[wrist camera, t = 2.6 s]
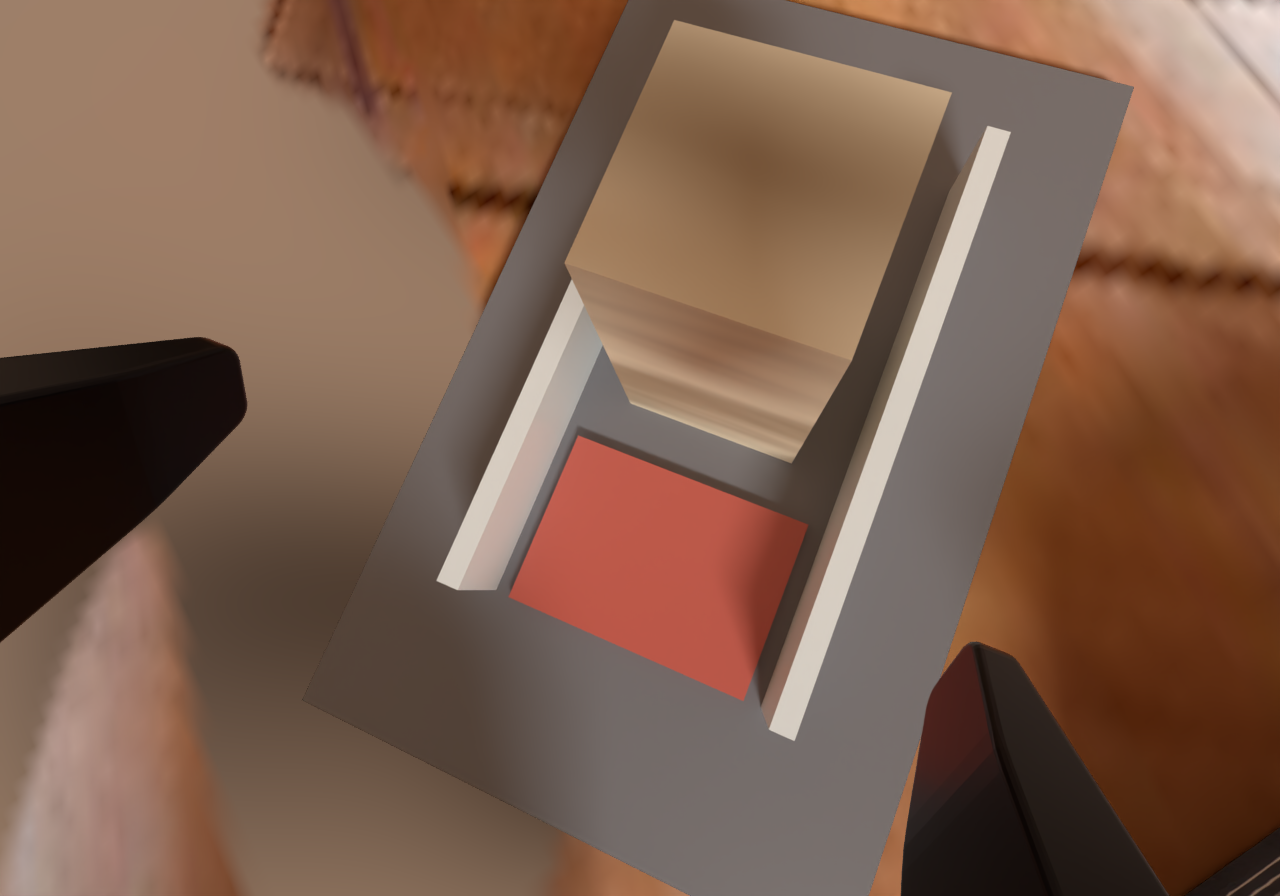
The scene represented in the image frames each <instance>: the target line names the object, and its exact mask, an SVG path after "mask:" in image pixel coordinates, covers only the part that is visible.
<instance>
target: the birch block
mask: <svg viewBox="0 0 1280 896" xmlns="http://www.w3.org/2000/svg"><path fill="white" fill-rule="evenodd" d="M951 94H952V92H948V91H944V90H940V89H936V88H933V87H929V86H925V85H921V84H917V83H914V82H910V81H906V80H902V79H898V78H894V77H891V76H887V75H883V74H879V73H875V72H871V71H868V70H864V69H860V68H856V67H852V66H849V65H845V64H841V63H837V62H833V61H829V60H826V59H822V58H818V57H814V56H810V55H806V54H803V53H799V52H795V51H791V50H787V49H784V48H780V47H776V46H772V45H768V44H764V43H761V42H757V41H753V40H749V39H745V38H741V37H738V36H734V35H730V34H726V33H722V32H719V31H715V30H711V29H707V28H703V27H699V26H696V25H692V24H688V23H684V22H680V21H676V20H674V22H673V24H672V26H671V28H670V30H669V33H668V35H667V37H666V39H665V42H664V44H663V46H662V48H661V50H660V53H659V55H658V57H657V59H656V61H655V64H654V66H653V68H652V70H651V72H650V75H649V77H648V79H647V81H646V84H645V86H644V88H643V90H642V92H641V95H640V97H639V99H638V101H637V103H636V106H635V108H634V110H633V112H632V114H631V117H630V119H629V121H628V123H627V125H626V128H625V130H624V132H623V134H622V137H621V139H620V141H619V143H618V145H617V148H616V150H615V152H614V154H613V156H612V159H611V161H610V163H609V165H608V167H607V170H606V172H605V174H604V176H603V179H602V181H601V183H600V185H599V187H598V190H597V192H596V194H595V196H594V198H593V201H592V203H591V205H590V207H589V209H588V212H587V214H586V216H585V218H584V221H583V223H582V225H581V227H580V229H579V232H578V234H577V236H576V238H575V240H574V243H573V245H572V247H571V249H570V251H569V254H568V256H567V258H566V260H565V265H566V268H567V270H568V272H569V274H570V276H571V278H572V280H573V282H574V285H575V287H576V289H577V291H578V293H579V295H580V297H581V299H582V302H583V304H584V306H585V308H586V310H587V312H588V314H589V316H590V319H591V321H592V323H593V325H594V327H595V329H596V331H597V333H598V336H599V338H600V340H601V342H602V344H603V346H604V348H605V350H606V353H607V355H608V357H609V359H610V361H611V363H612V365H613V367H614V370H615V372H616V374H617V376H618V378H619V380H620V382H621V384H622V387H623V389H624V391H625V393H626V395H627V397H628V399H629V402H630V403H631V404H633V405H636V406H639V407H641V408H644V409H647V410H649V411H652V412H655V413H657V414H660V415H663V416H666V417H668V418H671V419H674V420H676V421H679V422H682V423H684V424H687V425H690V426H692V427H695V428H698V429H700V430H703V431H706V432H708V433H711V434H714V435H716V436H719V437H722V438H724V439H727V440H730V441H732V442H735V443H738V444H741V445H743V446H746V447H749V448H751V449H754V450H757V451H759V452H762V453H765V454H767V455H770V456H773V457H775V458H778V459H781V460H783V461H786V462H789V463H791V464H792V462H793V460H794V458H795V457H796V455H797V453H798V452H799V450H800V448H801V446H802V445H803V443H804V441H805V440H806V438H807V436H808V435H809V433H810V431H811V429H812V428H813V426H814V424H815V423H816V421H817V419H818V417H819V416H820V414H821V412H822V411H823V409H824V407H825V405H826V404H827V402H828V400H829V399H830V397H831V395H832V394H833V392H834V390H835V388H836V387H837V385H838V383H839V382H840V380H841V378H842V376H843V375H844V373H845V371H846V370H847V368H848V366H849V365H850V363H851V361H852V359H853V356H854V353H855V351H856V348H857V345H858V343H859V340H860V337H861V335H862V332H863V329H864V327H865V324H866V321H867V319H868V316H869V313H870V311H871V308H872V305H873V303H874V300H875V297H876V295H877V292H878V289H879V286H880V284H881V281H882V278H883V276H884V273H885V270H886V268H887V265H888V262H889V260H890V257H891V254H892V252H893V249H894V246H895V244H896V241H897V238H898V236H899V233H900V230H901V228H902V225H903V222H904V220H905V217H906V214H907V212H908V209H909V206H910V204H911V201H912V198H913V196H914V193H915V190H916V188H917V185H918V182H919V179H920V177H921V174H922V171H923V169H924V166H925V163H926V161H927V158H928V155H929V153H930V150H931V147H932V145H933V142H934V139H935V137H936V134H937V131H938V129H939V126H940V123H941V121H942V118H943V115H944V113H945V110H946V107H947V105H948V102H949V99H950V97H951Z"/></svg>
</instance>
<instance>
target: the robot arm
mask: <svg viewBox="0 0 1280 896" xmlns="http://www.w3.org/2000/svg"><path fill="white" fill-rule="evenodd" d="M246 410H247V398H246V393H245V387H244V382H243V376H242V371H241V365H240V360H239V357H238V355H237V354H236V352H235V351H234V350H233V349H232V348H230V347H228V346H226V345H223V344H221V343H218V342H215V341H213V340H211V339H207V338H203V337H194V338H184V339H174V340H165V341H156V342H147V343H137V344H127V345H118V346H110V347H109V346H108V347H99V348H90V349H80V350H70V351H61V352H52V353H42V354H33V355H23V356H14V357H4V358H0V642H1V641H3V640H4V639H5V638H6V637H7V636H9V635H10V634H11V633H12V632H13V631H15V630H16V629H17V628H18V627H19V626H20V625H22V624H23V623H24V622H25V621H26V620H27V619H29V618H30V617H31V616H32V615H33V614H34V613H36V612H37V611H38V610H39V609H40V608H41V607H43V606H44V605H45V604H46V603H47V602H48V601H50V600H51V599H52V598H53V597H54V596H55V595H57V594H58V593H59V592H60V591H61V590H62V589H63V588H65V587H66V586H67V585H68V584H69V583H71V582H72V581H73V580H74V579H75V578H76V577H78V576H79V575H80V574H81V573H82V572H83V571H85V570H86V569H87V568H88V567H89V566H90V565H92V564H93V563H94V562H95V561H96V560H97V559H99V558H100V557H101V556H102V555H103V554H104V553H106V552H107V551H108V550H109V549H110V548H111V547H113V546H114V545H115V544H116V543H117V542H119V541H120V540H121V539H122V538H123V537H124V536H126V535H127V534H128V533H129V532H130V531H131V530H133V529H134V528H135V527H136V526H137V525H138V524H139V523H141V522H142V521H143V520H144V519H145V518H146V517H147V516H148V515H150V514H151V513H152V512H153V511H154V510H155V509H156V508H157V507H158V506H159V505H160V504H161V503H162V502H164V501H165V499H167V497H169V496H170V495H171V494H172V493H173V492H174V490H176V488H177V487H178V486H179V485H180V484H181V483H182V482H183V481H184V480H185V479H186V478H187V477H188V476H189V475H190V474H191V473H192V472H193V471H194V470H195V469H196V468H197V467H198V466H199V465H200V464H201V463H202V462H203V460H205V459H206V458H207V457H208V455H209V454H210V453H211V452H212V451H213V450H214V449H215V448H216V447H217V446H218V445H219V444H220V443H221V442H222V441H223V440H224V439H225V438H226V437H227V436H228V435H229V434H230V433H231V432H232V431H233V430H234V429H235V428H236V427H237V426H238V424H239V423H240V422H241V421H242V419H243V418H244V416H245V413H246ZM901 896H1169V894H1168V893H1167V891H1166V890H1165V888H1164V887H1163V885H1162V883H1161V882H1160V880H1159V879H1158V877H1157V876H1156V874H1155V873H1154V871H1153V869H1152V868H1151V866H1150V865H1149V863H1148V862H1147V860H1146V859H1145V857H1144V856H1143V854H1142V852H1141V851H1140V849H1139V848H1138V846H1137V845H1136V843H1135V842H1134V840H1133V839H1132V837H1131V835H1130V834H1129V832H1128V831H1127V829H1126V828H1125V826H1124V825H1123V823H1122V821H1121V820H1120V818H1119V817H1118V815H1117V814H1116V812H1115V811H1114V809H1113V808H1112V806H1111V804H1110V803H1109V801H1108V800H1107V798H1106V797H1105V795H1104V794H1103V792H1102V791H1101V789H1100V787H1099V786H1098V784H1097V783H1096V781H1095V780H1094V778H1093V777H1092V775H1091V774H1090V772H1089V770H1088V769H1087V767H1086V766H1085V764H1084V763H1083V761H1082V760H1081V758H1080V756H1079V755H1078V753H1077V752H1076V750H1075V749H1074V747H1073V746H1072V744H1071V743H1070V741H1069V739H1068V738H1067V736H1066V735H1065V733H1064V732H1063V730H1062V729H1061V727H1060V726H1059V724H1058V722H1057V721H1056V719H1055V718H1054V716H1053V715H1052V713H1051V712H1050V710H1049V708H1048V707H1047V705H1046V704H1045V702H1044V701H1043V699H1042V698H1041V696H1040V695H1039V693H1038V691H1037V690H1036V688H1035V687H1034V685H1033V684H1032V682H1031V681H1030V679H1029V678H1028V676H1027V674H1026V673H1025V671H1024V670H1023V668H1022V667H1021V665H1020V664H1019V662H1018V661H1017V660H1016V659H1015V658H1014V657H1013V656H1011V655H1010V654H1008V653H1005V652H1003V651H1000V650H998V649H995V648H993V647H990V646H988V645H985V644H983V643H980V642H970V643H968V644H967V645H966V646H964V647H963V648H962V650H961V651H960V652H959V654H958V655H957V656H956V658H955V659H954V660H953V662H952V663H951V664H950V666H949V667H948V668H947V670H946V671H945V672H944V674H943V675H942V676H941V678H940V679H939V681H938V682H937V683H936V685H935V686H934V688H933V690H932V692H931V694H930V696H929V699H928V702H927V706H926V711H925V717H924V723H923V729H922V735H921V742H920V748H919V754H918V760H917V766H916V772H915V778H914V784H913V790H912V796H911V803H910V809H909V815H908V821H907V827H906V835H905V842H904V850H903V864H902V880H901Z"/></svg>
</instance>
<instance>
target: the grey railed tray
mask: <svg viewBox="0 0 1280 896" xmlns="http://www.w3.org/2000/svg"><path fill="white" fill-rule="evenodd" d="M674 20H676V21H680V22H684V23H688V24H692V25H696V26H699V27H703V28H707V29H711V30H715V31H719V32H722V33H726V34H730V35H734V36H738V37H741V38H745V39H749V40H753V41H757V42H761V43H764V44H768V45H772V46H776V47H780V48H784V49H787V50H791V51H795V52H799V53H803V54H806V55H810V56H814V57H818V58H822V59H826V60H829V61H833V62H837V63H841V64H845V65H849V66H852V67H856V68H860V69H864V70H868V71H871V72H875V73H879V74H883V75H887V76H891V77H894V78H898V79H902V80H906V81H910V82H914V83H917V84H921V85H925V86H929V87H933V88H936V89H940V90H944V91H948V92H952V94H951V97H950V99H949V102H948V105H947V107H946V110H945V113H944V115H943V118H942V121H941V123H940V126H939V129H938V131H937V134H936V137H935V139H934V142H933V145H932V147H931V150H930V153H929V155H928V158H927V161H926V163H925V166H924V169H923V171H922V174H921V177H920V179H919V182H918V185H917V188H916V190H915V193H914V196H913V198H912V201H911V204H910V206H909V209H908V212H907V214H906V217H905V220H904V222H903V225H902V228H901V230H900V233H899V236H898V238H897V241H896V244H895V246H894V249H893V252H892V254H891V257H890V260H889V262H888V265H887V268H886V270H885V273H884V276H883V278H882V281H881V284H880V286H879V289H878V292H877V295H876V297H875V300H874V303H873V305H872V308H871V311H870V313H869V316H868V319H867V321H866V324H865V327H864V329H863V332H862V335H861V337H860V340H859V343H858V345H857V348H856V351H855V353H854V356H853V359H852V361H851V363H850V365H849V366H848V368H847V370H846V371H845V373H844V375H843V376H842V378H841V380H840V382H839V383H838V385H837V387H836V388H835V390H834V392H833V394H832V395H831V397H830V399H829V400H828V402H827V404H826V405H825V407H824V409H823V411H822V412H821V414H820V416H819V417H818V419H817V421H816V423H815V424H814V426H813V428H812V429H811V431H810V433H809V435H808V436H807V438H806V440H805V441H804V443H803V445H802V446H801V448H800V450H799V452H798V453H797V455H796V457H795V458H794V460H793V462H792V464H791V463H789V462H786V461H783V460H781V459H778V458H775V457H773V456H770V455H767V454H765V453H762V452H759V451H757V450H754V449H751V448H749V447H746V446H743V445H741V444H738V443H735V442H732V441H730V440H727V439H724V438H722V437H719V436H716V435H714V434H711V433H708V432H706V431H703V430H700V429H698V428H695V427H692V426H690V425H687V424H684V423H682V422H679V421H676V420H674V419H671V418H668V417H666V416H663V415H660V414H657V413H655V412H652V411H649V410H647V409H644V408H641V407H639V406H636V405H633V404H631V403H630V402H629V399H628V397H627V395H626V393H625V391H624V389H623V387H622V384H621V382H620V380H619V378H618V376H617V374H616V372H615V370H614V367H613V365H612V363H611V361H610V359H609V357H608V355H607V353H606V350H605V348H604V346H603V344H602V342H601V340H600V338H599V336H598V333H597V331H596V329H595V327H594V325H593V323H592V321H591V319H590V316H589V314H588V312H587V310H586V308H585V306H584V304H583V302H582V299H581V297H580V295H579V293H578V291H577V289H576V287H575V285H574V282H573V280H572V278H571V276H570V274H569V272H568V270H567V268H566V265H565V260H566V258H567V256H568V254H569V251H570V249H571V247H572V245H573V243H574V240H575V238H576V236H577V234H578V232H579V229H580V227H581V225H582V223H583V221H584V218H585V216H586V214H587V212H588V209H589V207H590V205H591V203H592V201H593V198H594V196H595V194H596V192H597V190H598V187H599V185H600V183H601V181H602V179H603V176H604V174H605V172H606V170H607V167H608V165H609V163H610V161H611V159H612V156H613V154H614V152H615V150H616V148H617V145H618V143H619V141H620V139H621V137H622V134H623V132H624V130H625V128H626V125H627V123H628V121H629V119H630V117H631V114H632V112H633V110H634V108H635V106H636V103H637V101H638V99H639V97H640V95H641V92H642V90H643V88H644V86H645V84H646V81H647V79H648V77H649V75H650V72H651V70H652V68H653V66H654V64H655V61H656V59H657V57H658V55H659V53H660V50H661V48H662V46H663V44H664V42H665V39H666V37H667V35H668V33H669V30H670V28H671V26H672V24H673V22H674ZM1133 89H1134V87H1132V86H1128V85H1124V84H1120V83H1116V82H1112V81H1108V80H1104V79H1100V78H1096V77H1092V76H1088V75H1084V74H1080V73H1076V72H1072V71H1068V70H1064V69H1060V68H1056V67H1052V66H1048V65H1044V64H1040V63H1036V62H1032V61H1028V60H1024V59H1020V58H1016V57H1012V56H1008V55H1004V54H1000V53H996V52H992V51H988V50H983V49H979V48H975V47H971V46H967V45H963V44H959V43H955V42H951V41H947V40H943V39H939V38H935V37H931V36H927V35H923V34H919V33H915V32H911V31H907V30H903V29H899V28H895V27H891V26H887V25H883V24H879V23H875V22H871V21H867V20H863V19H859V18H855V17H851V16H847V15H843V14H839V13H834V12H830V11H826V10H822V9H818V8H814V7H810V6H806V5H802V4H798V3H794V2H790V1H786V0H628V3H627V5H626V7H625V9H624V11H623V13H622V15H621V18H620V20H619V22H618V24H617V26H616V28H615V30H614V33H613V35H612V37H611V39H610V41H609V43H608V45H607V48H606V50H605V52H604V54H603V56H602V58H601V60H600V63H599V65H598V67H597V69H596V71H595V73H594V75H593V78H592V80H591V82H590V84H589V86H588V88H587V90H586V93H585V95H584V97H583V99H582V101H581V103H580V105H579V108H578V110H577V112H576V114H575V116H574V118H573V120H572V123H571V125H570V127H569V129H568V131H567V133H566V135H565V138H564V140H563V142H562V144H561V146H560V148H559V150H558V153H557V155H556V157H555V159H554V161H553V163H552V165H551V168H550V170H549V172H548V174H547V176H546V178H545V180H544V183H543V185H542V187H541V189H540V191H539V193H538V195H537V198H536V200H535V202H534V204H533V206H532V208H531V210H530V213H529V215H528V217H527V219H526V221H525V223H524V225H523V228H522V230H521V232H520V234H519V236H518V238H517V240H516V243H515V245H514V247H513V249H512V251H511V253H510V255H509V258H508V260H507V262H506V264H505V266H504V268H503V270H502V273H501V275H500V277H499V279H498V281H497V283H496V285H495V288H494V290H493V292H492V294H491V296H490V298H489V300H488V303H487V305H486V307H485V309H484V311H483V313H482V315H481V318H480V320H479V322H478V324H477V326H476V328H475V330H474V333H473V335H472V337H471V339H470V341H469V343H468V346H467V348H466V350H465V352H464V354H463V356H462V359H461V361H460V363H459V365H458V367H457V369H456V371H455V373H454V376H453V378H452V380H451V382H450V384H449V386H448V388H447V391H446V393H445V395H444V397H443V399H442V401H441V403H440V406H439V408H438V410H437V412H436V414H435V416H434V418H433V421H432V423H431V425H430V427H429V429H428V431H427V433H426V436H425V438H424V440H423V442H422V444H421V446H420V448H419V451H418V453H417V455H416V457H415V459H414V461H413V463H412V466H411V468H410V470H409V472H408V474H407V476H406V479H405V481H404V483H403V485H402V487H401V489H400V491H399V494H398V496H397V498H396V500H395V502H394V504H393V506H392V509H391V511H390V513H389V515H388V517H387V519H386V521H385V524H384V526H383V528H382V530H381V532H380V534H379V536H378V538H377V541H376V543H375V545H374V547H373V549H372V551H371V554H370V556H369V558H368V560H367V562H366V564H365V566H364V569H363V571H362V573H361V575H360V577H359V579H358V581H357V583H356V586H355V588H354V590H353V592H352V594H351V596H350V598H349V601H348V603H347V605H346V607H345V609H344V612H343V614H342V616H341V618H340V620H339V622H338V624H337V626H336V628H335V631H334V633H333V635H332V637H331V639H330V641H329V644H328V646H327V648H326V650H325V652H324V654H323V656H322V658H321V661H320V663H319V665H318V667H317V669H316V671H315V673H314V676H313V678H312V680H311V682H310V684H309V686H308V688H307V691H306V693H305V695H304V697H303V699H302V700H303V701H305V702H307V703H309V704H311V705H313V706H315V707H317V708H319V709H321V710H323V711H325V712H327V713H329V714H331V715H333V716H335V717H337V718H339V719H340V720H342V721H344V722H347V723H348V724H350V725H353V726H354V727H356V728H358V729H360V730H362V731H365V732H367V733H368V734H370V735H372V736H374V737H376V738H378V739H380V740H382V741H384V742H386V743H388V744H390V745H392V746H394V747H396V748H398V749H400V750H402V751H404V752H406V753H408V754H410V755H412V756H414V757H416V758H418V759H420V760H422V761H424V762H426V763H428V764H430V765H432V766H434V767H436V768H438V769H440V770H442V771H444V772H446V773H448V774H450V775H452V776H454V777H456V778H458V779H460V780H462V781H464V782H466V783H468V784H470V785H471V786H473V787H475V788H477V789H479V790H481V791H484V792H485V793H487V794H489V795H491V796H493V797H495V798H498V799H499V800H501V801H503V802H505V803H507V804H509V805H511V806H513V807H515V808H517V809H519V810H521V811H523V812H525V813H527V814H529V815H531V816H533V817H535V818H537V819H539V820H541V821H543V822H545V823H547V824H549V825H551V826H553V827H555V828H557V829H559V830H561V831H563V832H565V833H567V834H569V835H571V836H573V837H575V838H577V839H579V840H581V841H583V842H585V843H587V844H589V845H591V846H593V847H595V848H597V849H598V850H600V851H602V852H604V853H606V854H608V855H610V856H612V857H614V858H616V859H618V860H620V861H622V862H624V863H626V864H628V865H630V866H632V867H634V868H636V869H638V870H640V871H642V872H644V873H646V874H648V875H650V876H652V877H654V878H656V879H658V880H660V881H662V882H664V883H666V884H668V885H670V886H672V887H674V888H676V889H678V890H680V891H682V892H684V893H686V894H688V895H690V896H869V893H870V890H871V887H872V884H873V881H874V878H875V875H876V872H877V869H878V866H879V863H880V859H881V856H882V853H883V850H884V847H885V844H886V841H887V838H888V835H889V832H890V829H891V826H892V823H893V820H894V817H895V814H896V811H897V808H898V805H899V802H900V799H901V795H902V792H903V789H904V786H905V783H906V780H907V777H908V774H909V771H910V768H911V765H912V762H913V759H914V756H915V753H916V750H917V747H918V744H919V741H920V738H921V735H922V729H923V723H924V717H925V711H926V706H927V702H928V699H929V696H930V694H931V692H932V690H933V688H934V686H935V685H936V683H937V682H938V681H939V679H940V677H941V674H942V671H943V668H944V664H945V661H946V658H947V655H948V652H949V649H950V646H951V643H952V640H953V637H954V634H955V631H956V628H957V625H958V622H959V619H960V616H961V613H962V610H963V607H964V604H965V600H966V597H967V594H968V591H969V588H970V585H971V582H972V579H973V576H974V573H975V570H976V567H977V564H978V561H979V558H980V555H981V552H982V549H983V546H984V543H985V540H986V536H987V533H988V530H989V527H990V524H991V521H992V518H993V515H994V512H995V509H996V506H997V503H998V500H999V497H1000V494H1001V491H1002V488H1003V485H1004V482H1005V479H1006V476H1007V472H1008V469H1009V466H1010V463H1011V460H1012V457H1013V454H1014V451H1015V448H1016V445H1017V442H1018V439H1019V436H1020V433H1021V430H1022V427H1023V424H1024V421H1025V418H1026V415H1027V412H1028V409H1029V405H1030V402H1031V399H1032V396H1033V393H1034V390H1035V387H1036V384H1037V381H1038V378H1039V375H1040V372H1041V369H1042V366H1043V363H1044V360H1045V357H1046V354H1047V351H1048V348H1049V345H1050V341H1051V338H1052V335H1053V332H1054V329H1055V326H1056V323H1057V320H1058V317H1059V314H1060V311H1061V308H1062V305H1063V302H1064V299H1065V296H1066V293H1067V290H1068V287H1069V284H1070V281H1071V277H1072V274H1073V271H1074V268H1075V265H1076V262H1077V259H1078V256H1079V253H1080V250H1081V247H1082V244H1083V241H1084V238H1085V235H1086V232H1087V229H1088V226H1089V223H1090V220H1091V217H1092V214H1093V210H1094V207H1095V204H1096V201H1097V198H1098V195H1099V192H1100V189H1101V186H1102V183H1103V180H1104V177H1105V174H1106V171H1107V168H1108V165H1109V162H1110V159H1111V156H1112V153H1113V150H1114V146H1115V143H1116V140H1117V137H1118V134H1119V131H1120V128H1121V125H1122V122H1123V119H1124V116H1125V113H1126V110H1127V107H1128V104H1129V101H1130V98H1131V95H1132V92H1133Z"/></svg>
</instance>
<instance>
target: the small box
mask: <svg viewBox="0 0 1280 896" xmlns="http://www.w3.org/2000/svg"><path fill="white" fill-rule="evenodd" d="M1185 896H1280V827H1279V828H1278V829H1277V830H1276V831H1274V832H1273V833H1271V834H1270V835H1269V836H1267V837H1266V838H1264V839H1263V840H1262V841H1261V842H1259V843H1258V844H1257V845H1255V846H1254V847H1252V848H1251V849H1249V850H1248V851H1246V852H1245V853H1243V854H1242V855H1241V856H1239V857H1238V858H1236V859H1235V860H1234V861H1232V862H1231V863H1229V864H1228V865H1227V866H1225V867H1224V868H1223V869H1221V870H1220V871H1218V872H1217V873H1216V874H1214V875H1213V876H1211V877H1210V878H1209V879H1207V880H1206V881H1205V882H1204V883H1202V884H1200V885H1199V886H1197V887H1196V888H1195V889H1193V890H1192V891H1190V892H1189V893H1188V894H1186V895H1185Z"/></svg>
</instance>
